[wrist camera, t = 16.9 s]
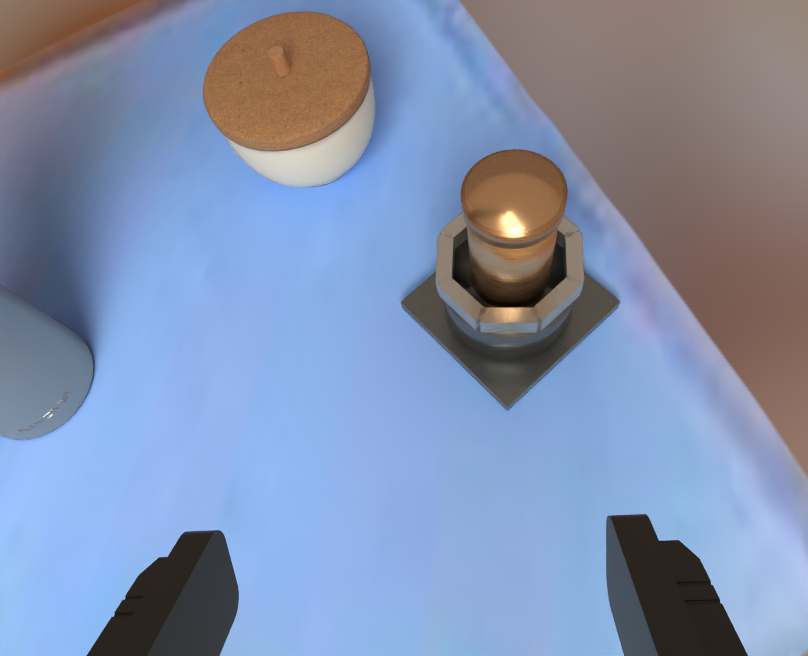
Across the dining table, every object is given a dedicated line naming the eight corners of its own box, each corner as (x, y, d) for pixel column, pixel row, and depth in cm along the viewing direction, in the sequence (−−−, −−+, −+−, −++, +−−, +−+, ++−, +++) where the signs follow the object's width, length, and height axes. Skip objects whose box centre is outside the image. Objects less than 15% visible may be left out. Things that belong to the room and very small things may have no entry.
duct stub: (402, 308, 48) (386, 258, 41) (507, 217, 49) (508, 155, 43) (507, 410, 43) (508, 374, 36) (618, 307, 45) (638, 255, 38)
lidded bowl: (248, 107, 58) (195, 4, 48) (384, 86, 57) (359, -26, 47) (243, 224, 53) (183, 134, 43) (393, 203, 51) (367, 106, 41)
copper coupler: (450, 274, 41) (439, 192, 33) (509, 223, 42) (513, 131, 34) (509, 328, 39) (513, 255, 31) (570, 274, 40) (590, 188, 32)
